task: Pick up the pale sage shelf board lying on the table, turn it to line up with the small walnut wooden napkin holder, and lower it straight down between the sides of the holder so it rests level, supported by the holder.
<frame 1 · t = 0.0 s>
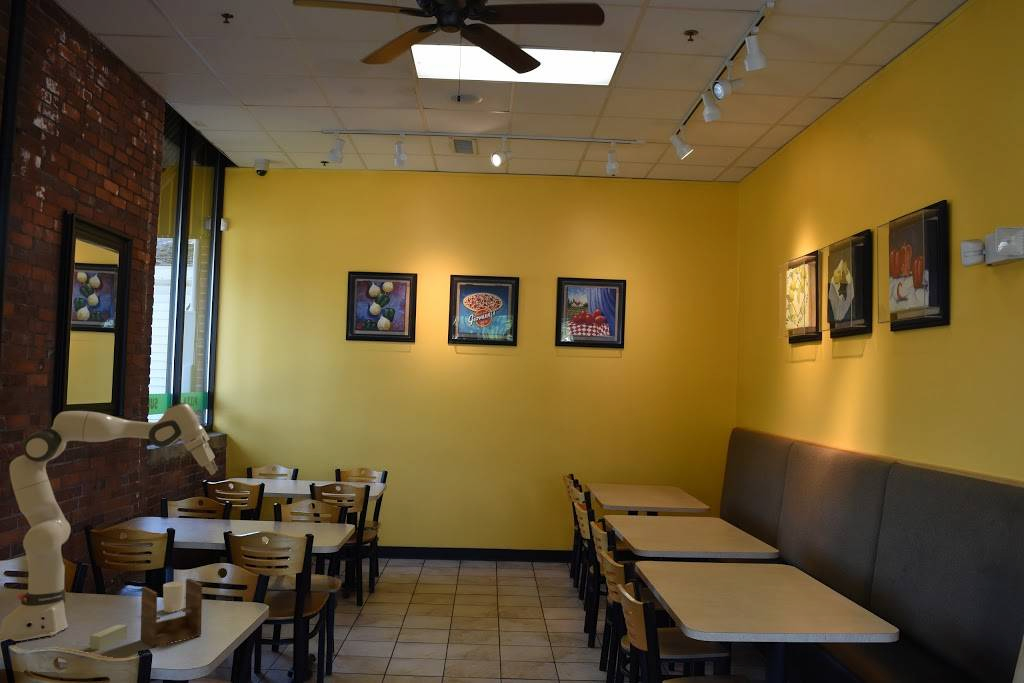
hand: (214, 472, 288), 54 cm above the table, tool tilted 30°, fingers open, 8 cm apart
shelf board: (108, 643, 257), on the table
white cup: (173, 610, 294), on the table
wooden napkin holder: (171, 638, 262), on the table
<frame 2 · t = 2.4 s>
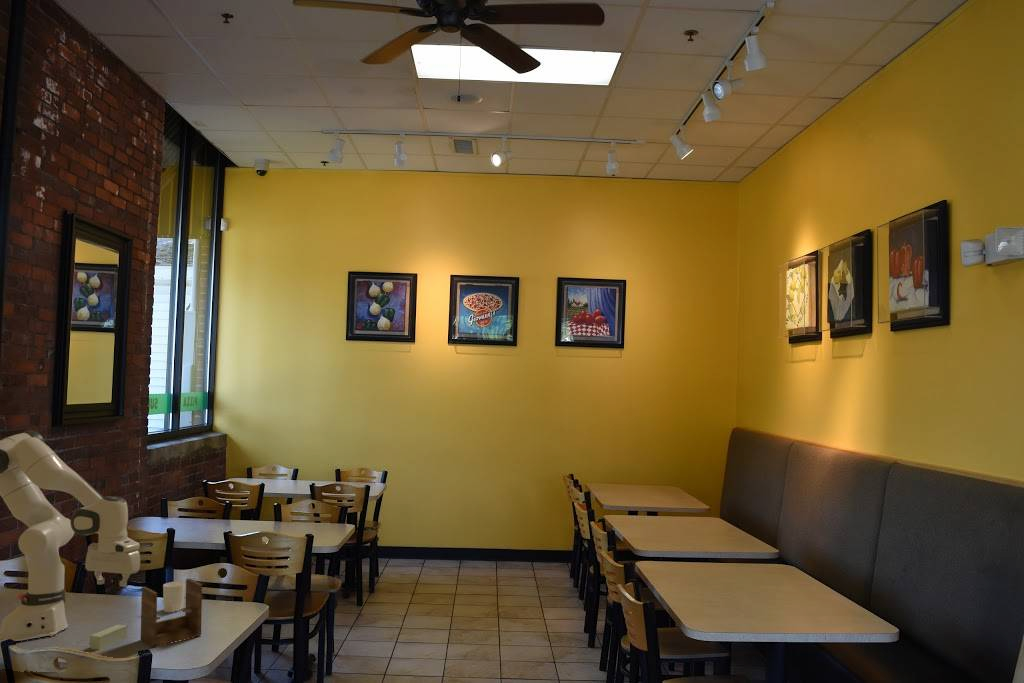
hand: (111, 585, 258), 20 cm above the table, tool pointing down, fingers open, 8 cm apart
nothing on the table moved.
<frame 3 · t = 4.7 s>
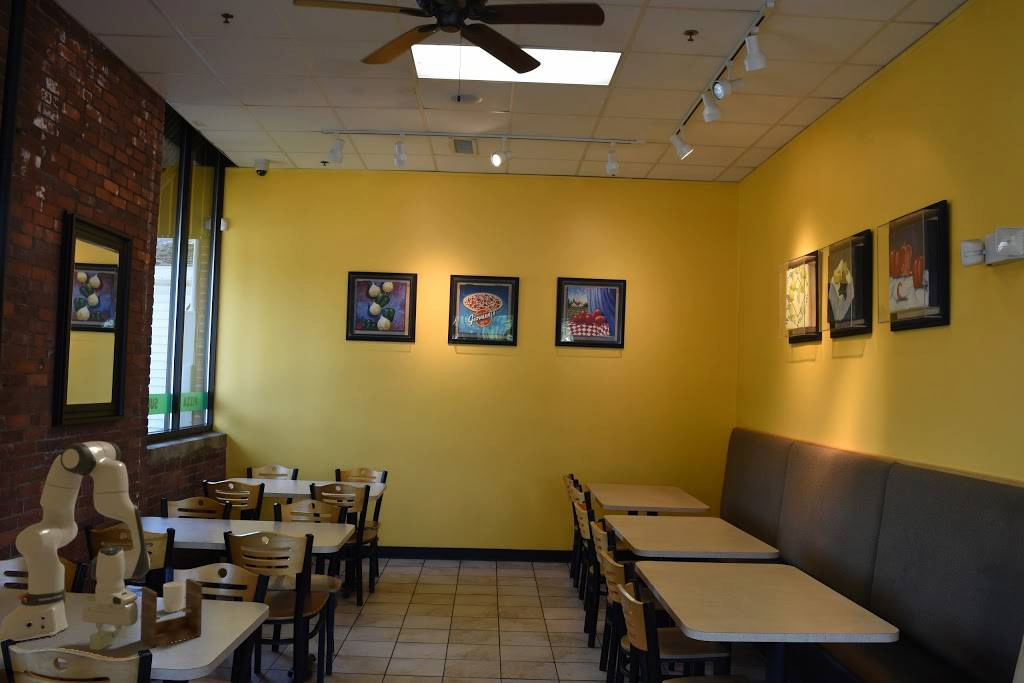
hand: (108, 636, 258), 2 cm above the table, tool pointing down, fingers closed on shelf board, 4 cm apart
shelf board: (108, 643, 257), on the table, touching gripper
everything else where it was.
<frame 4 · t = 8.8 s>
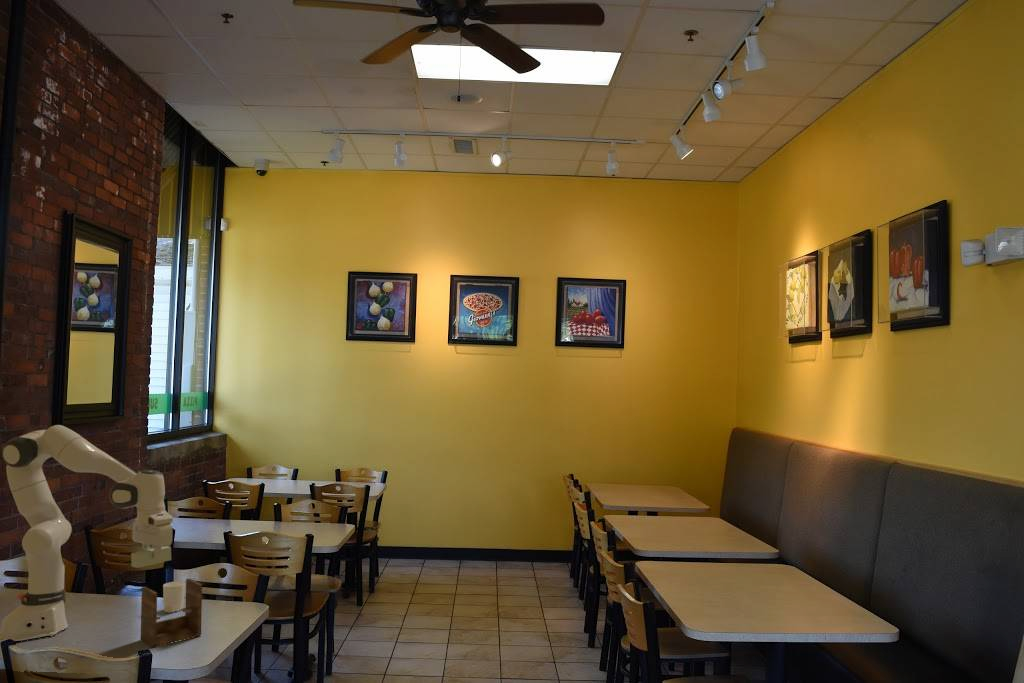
hand: (151, 556, 262), 28 cm above the table, tool pointing down, fingers closed on shelf board, 4 cm apart
shelf board: (151, 563, 262), point 26 cm above the table, touching gripper
everything else where it was.
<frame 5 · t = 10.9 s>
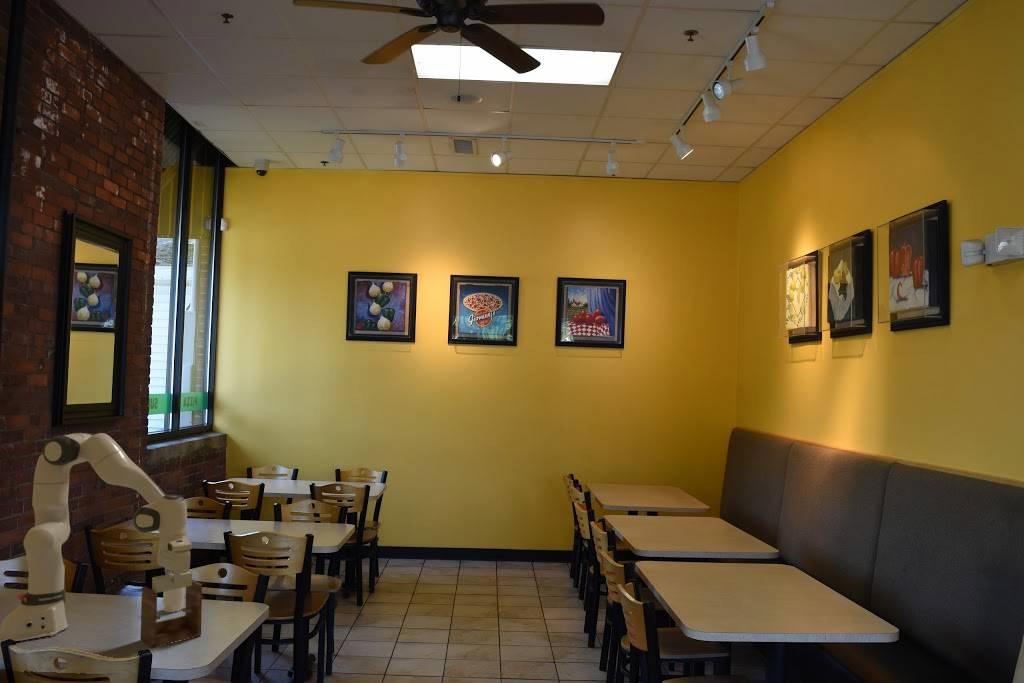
hand: (172, 582, 263), 19 cm above the table, tool pointing down, fingers closed on shelf board, 4 cm apart
shelf board: (172, 588, 263), point 17 cm above the table, touching gripper
everything else where it was.
when the fingers open (12 cm above the table, at t = 12.6 s): shelf board stays where it is, resting on wooden napkin holder.
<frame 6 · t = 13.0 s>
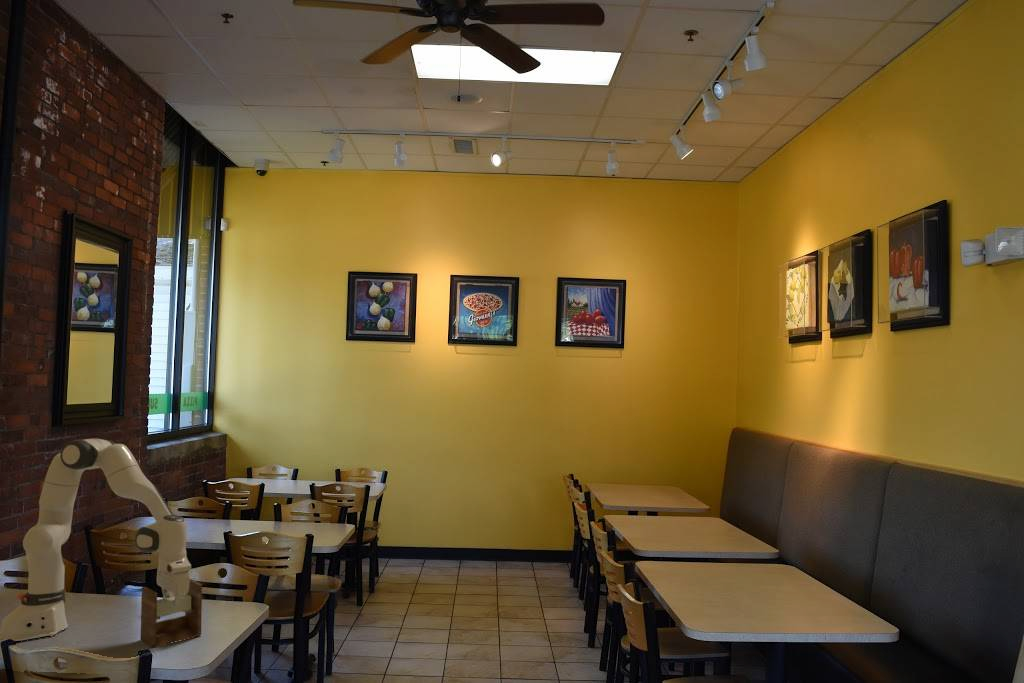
hand: (171, 602, 263), 12 cm above the table, tool pointing down, fingers open, 8 cm apart
shelf board: (171, 611, 263), point 9 cm above the table, touching wooden napkin holder
everything else where it was.
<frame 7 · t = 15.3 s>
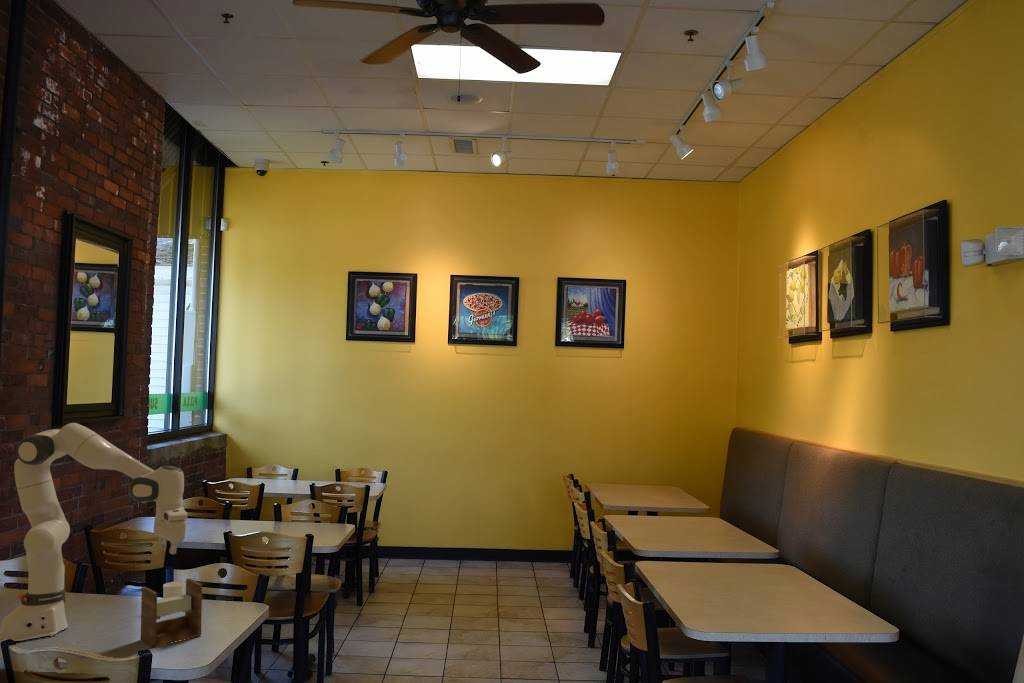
hand: (167, 551, 267), 29 cm above the table, tool pointing down, fingers open, 8 cm apart
nothing on the table moved.
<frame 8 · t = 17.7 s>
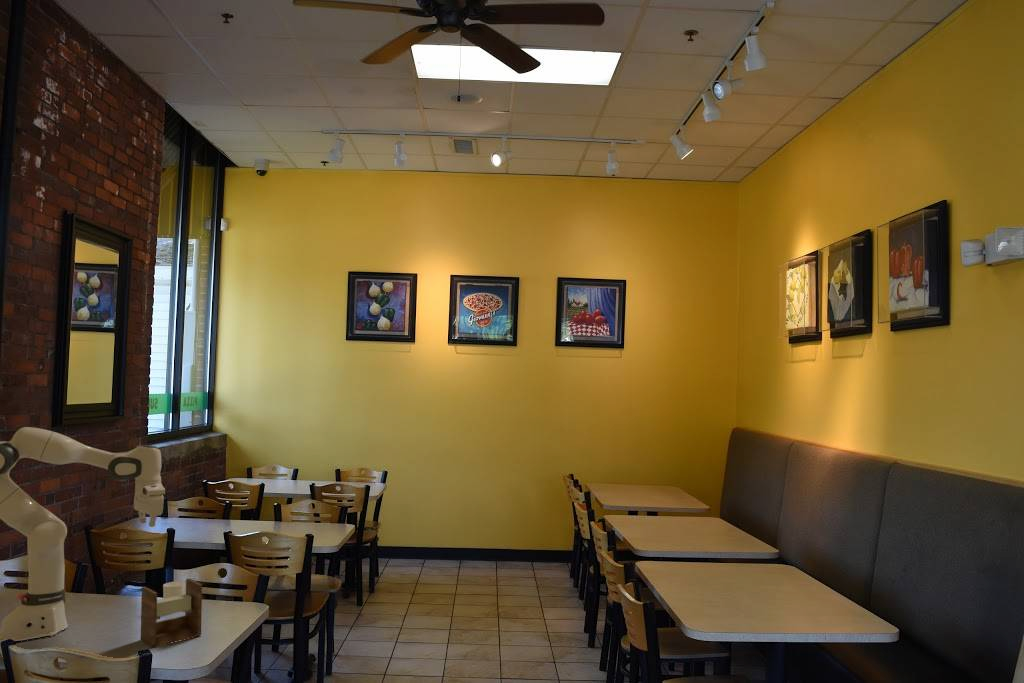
hand: (147, 524, 285), 35 cm above the table, tool pointing down, fingers open, 8 cm apart
nothing on the table moved.
at the end: shelf board 0.1 cm off-centre on the wooden napkin holder, point 9.0 cm above the wooden napkin holder's base; shelf board tilted 0°; the gripper is holding nothing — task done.
